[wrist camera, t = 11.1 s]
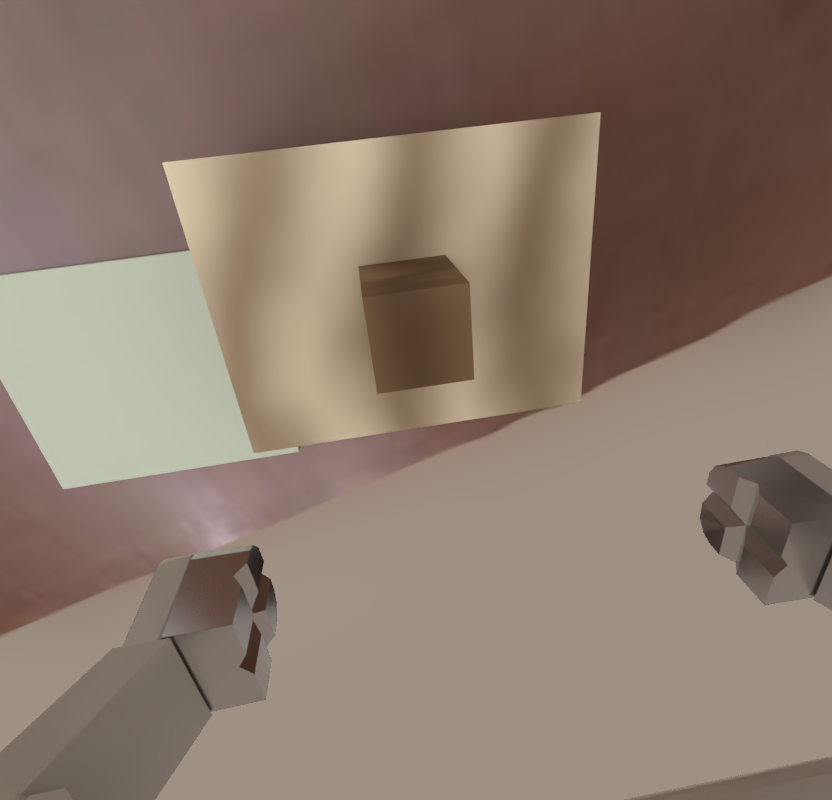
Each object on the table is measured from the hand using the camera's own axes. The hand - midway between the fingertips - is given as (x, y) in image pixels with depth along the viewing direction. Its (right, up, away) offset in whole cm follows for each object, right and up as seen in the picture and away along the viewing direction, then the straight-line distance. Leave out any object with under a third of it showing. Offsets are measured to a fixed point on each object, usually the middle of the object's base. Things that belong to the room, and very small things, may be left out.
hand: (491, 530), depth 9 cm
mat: (-20, +4, +26) cm, 33 cm away
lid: (-2, +7, +15) cm, 17 cm away
